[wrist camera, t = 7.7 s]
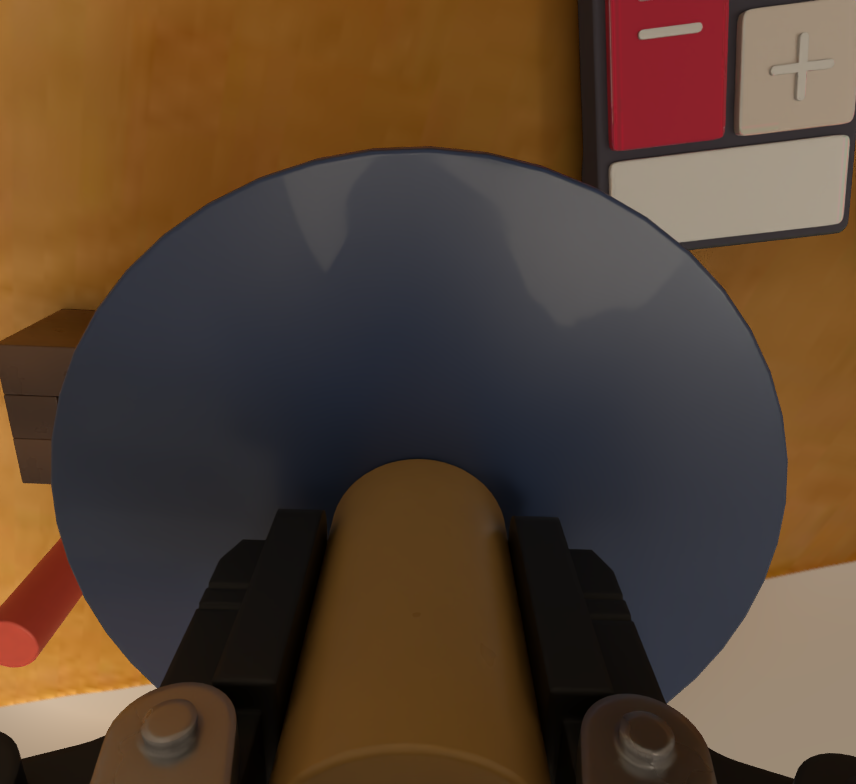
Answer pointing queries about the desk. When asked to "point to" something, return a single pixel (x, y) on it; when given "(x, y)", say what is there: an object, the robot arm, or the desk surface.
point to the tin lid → (419, 442)
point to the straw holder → (38, 385)
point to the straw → (37, 608)
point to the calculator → (721, 114)
